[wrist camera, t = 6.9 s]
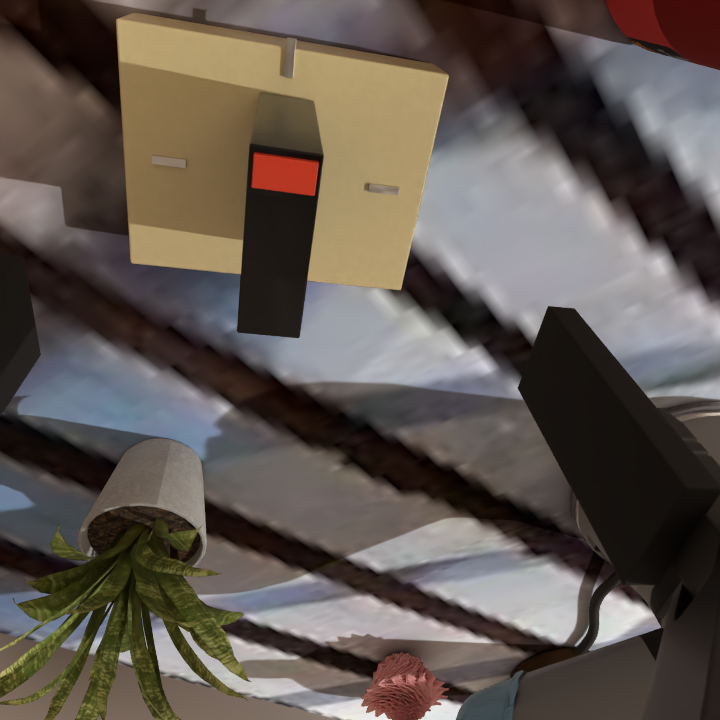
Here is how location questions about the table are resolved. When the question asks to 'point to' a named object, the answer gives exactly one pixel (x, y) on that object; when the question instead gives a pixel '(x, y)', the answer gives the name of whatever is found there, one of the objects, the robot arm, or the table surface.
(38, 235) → the table surface
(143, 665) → the house plant
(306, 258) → the red-topped black block
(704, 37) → the canned food
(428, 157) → the tan box
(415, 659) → the flower
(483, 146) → the table surface
